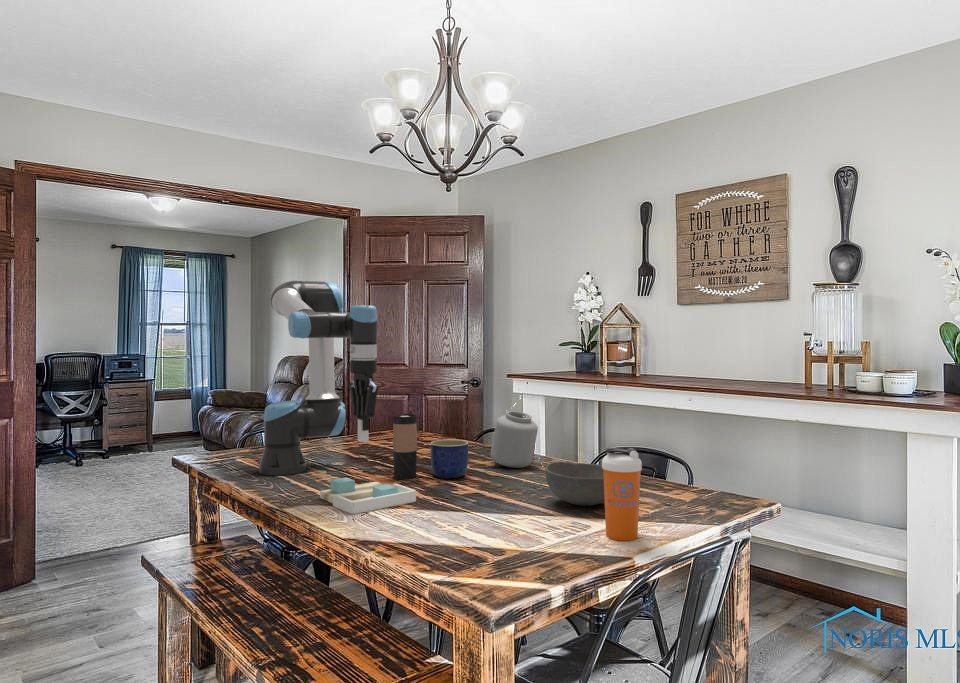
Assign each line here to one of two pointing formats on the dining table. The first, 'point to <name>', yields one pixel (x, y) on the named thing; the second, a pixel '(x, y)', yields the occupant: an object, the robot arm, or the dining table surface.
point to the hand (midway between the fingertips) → (363, 441)
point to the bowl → (576, 482)
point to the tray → (375, 501)
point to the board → (359, 493)
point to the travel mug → (405, 446)
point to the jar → (514, 440)
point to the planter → (449, 458)
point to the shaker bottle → (621, 493)
